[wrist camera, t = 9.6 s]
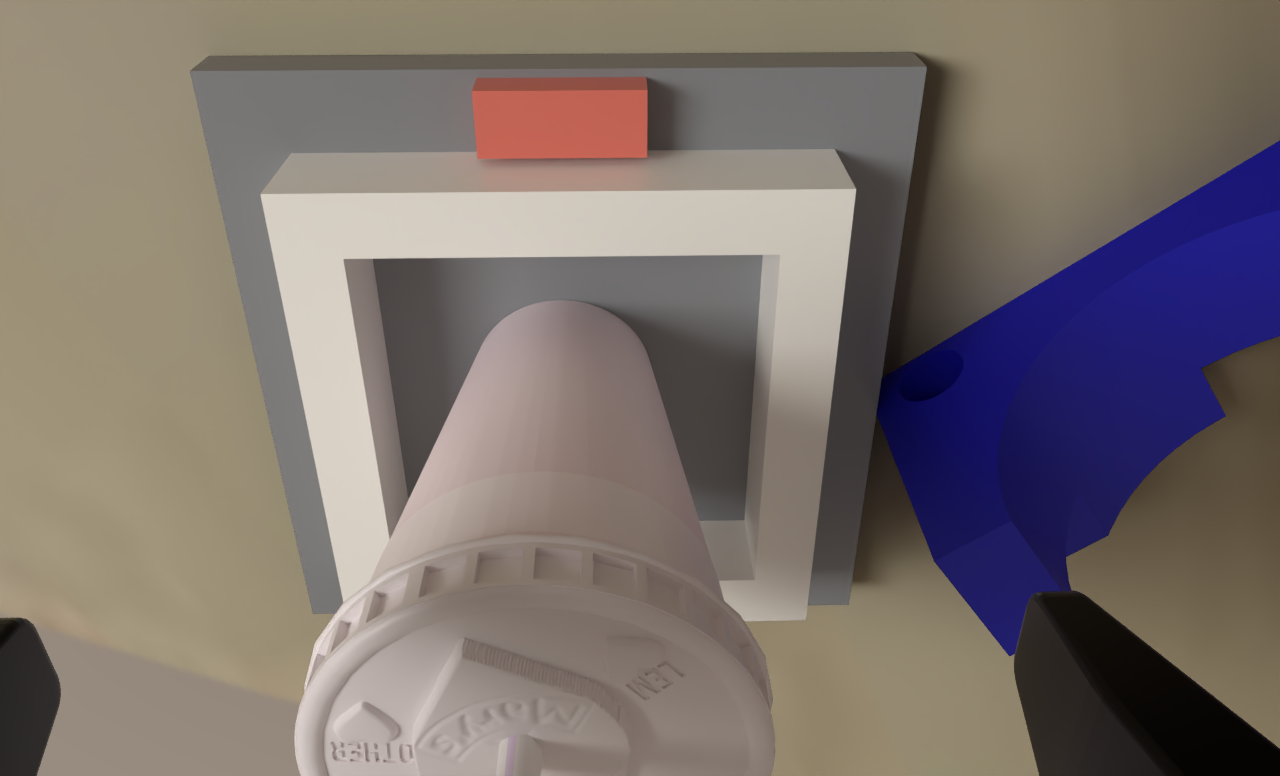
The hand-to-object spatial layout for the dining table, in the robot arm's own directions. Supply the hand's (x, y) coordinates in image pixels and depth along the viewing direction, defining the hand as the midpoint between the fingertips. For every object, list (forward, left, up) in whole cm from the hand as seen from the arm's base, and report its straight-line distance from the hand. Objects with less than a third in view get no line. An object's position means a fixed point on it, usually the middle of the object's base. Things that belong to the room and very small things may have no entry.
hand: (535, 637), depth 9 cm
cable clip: (-12, +4, -13) cm, 19 cm away
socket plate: (0, +5, -13) cm, 14 cm away
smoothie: (0, +5, -12) cm, 13 cm away
